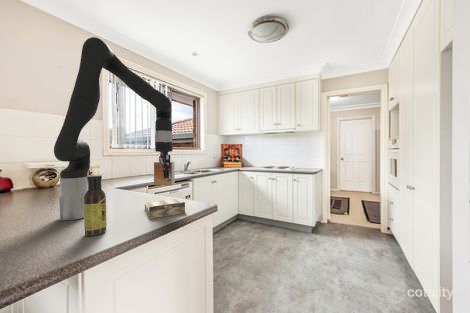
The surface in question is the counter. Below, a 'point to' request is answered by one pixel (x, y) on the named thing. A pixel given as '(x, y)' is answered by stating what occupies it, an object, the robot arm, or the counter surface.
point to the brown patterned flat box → (164, 208)
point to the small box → (159, 174)
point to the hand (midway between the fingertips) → (164, 177)
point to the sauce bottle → (94, 207)
